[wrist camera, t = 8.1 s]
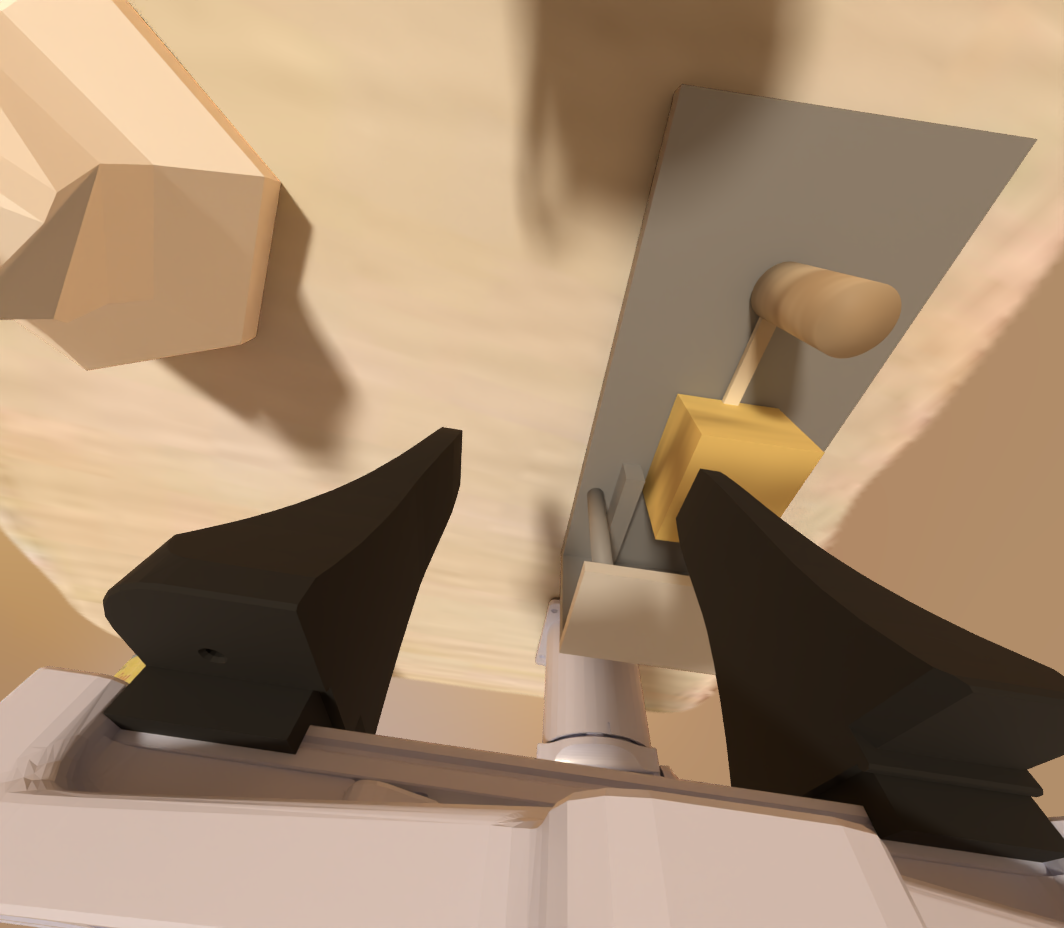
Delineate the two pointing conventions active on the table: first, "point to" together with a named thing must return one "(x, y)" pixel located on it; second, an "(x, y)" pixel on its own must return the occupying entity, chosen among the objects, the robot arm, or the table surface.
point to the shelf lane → (750, 318)
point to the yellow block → (756, 431)
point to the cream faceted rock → (122, 192)
